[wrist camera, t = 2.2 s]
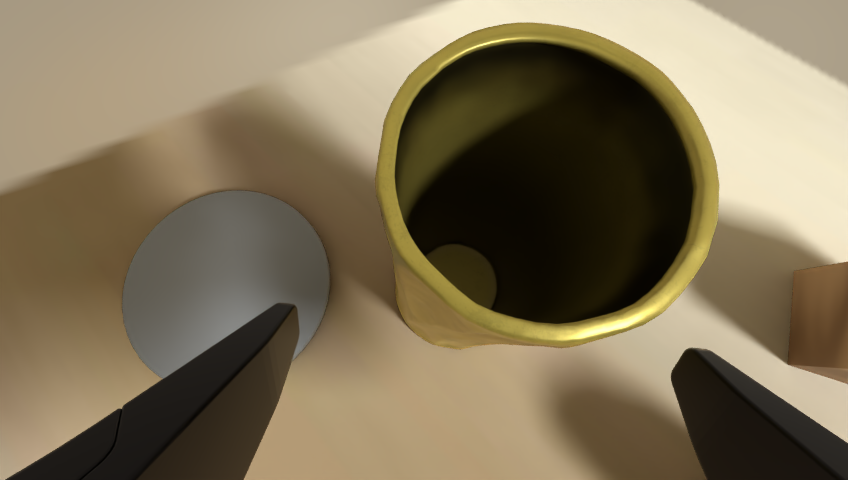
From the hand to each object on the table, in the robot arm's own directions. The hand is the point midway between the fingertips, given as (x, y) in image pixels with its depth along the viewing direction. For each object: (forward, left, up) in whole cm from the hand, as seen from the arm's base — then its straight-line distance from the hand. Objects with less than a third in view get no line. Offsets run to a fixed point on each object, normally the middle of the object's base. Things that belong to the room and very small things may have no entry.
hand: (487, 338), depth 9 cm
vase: (+2, +1, -11) cm, 11 cm away
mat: (-5, +10, -10) cm, 15 cm away
